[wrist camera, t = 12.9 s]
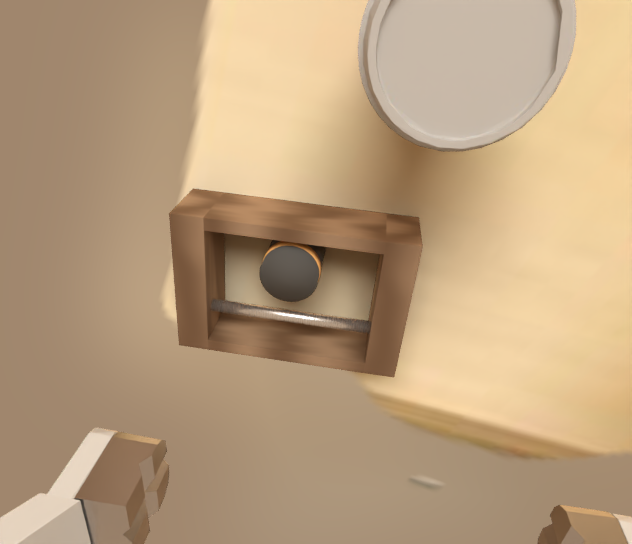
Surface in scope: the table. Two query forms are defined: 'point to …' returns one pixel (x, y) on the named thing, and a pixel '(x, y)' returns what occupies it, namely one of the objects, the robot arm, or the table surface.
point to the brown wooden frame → (298, 227)
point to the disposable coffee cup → (463, 66)
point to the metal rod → (291, 316)
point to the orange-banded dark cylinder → (291, 270)
